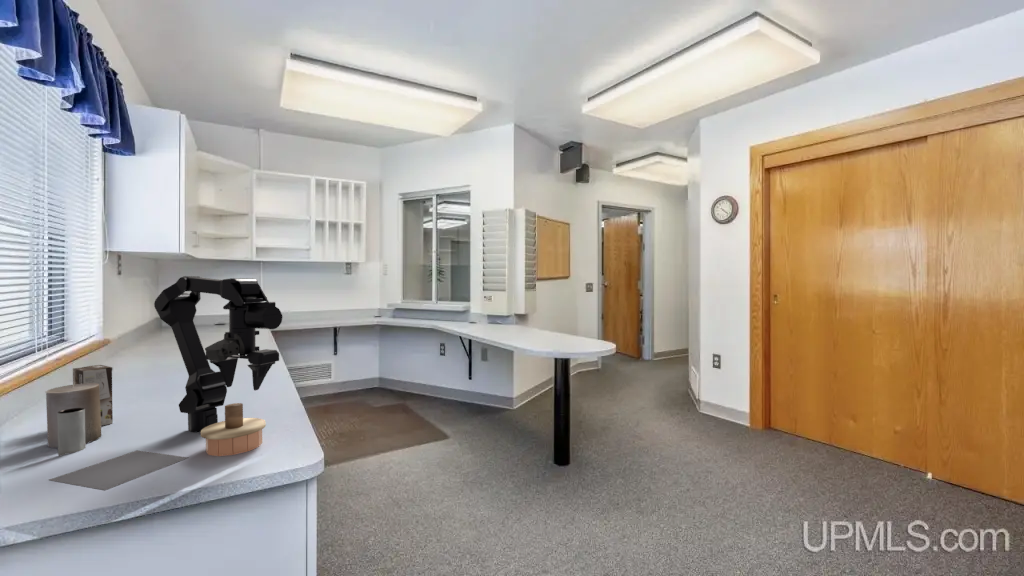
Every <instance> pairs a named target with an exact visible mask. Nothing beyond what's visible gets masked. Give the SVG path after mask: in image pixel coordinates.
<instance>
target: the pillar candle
mask: <svg viewBox="0 0 1024 576" xmlns="http://www.w3.org/2000/svg"><path fill="white" fill-rule="evenodd" d="M44 392H45V399H46V402H45V403H46V404H45V405H46V406H45V407H46V428H47V429H46V431H47V446H48V447H49V448H51V449H58V420H57V413H58V412H59V411H62V410H66V409H71V408H85V444H88V443H92V442H94V441H97V440H98V439H99V438H101V437H102V426H101V411H100V391H99V384H97V383H84V384H75V382H74V384H73V383H72V384H68V385H67V384H66V385H62V386H57V387H53V388H50V389H48V390H45V391H44Z"/></svg>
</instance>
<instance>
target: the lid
mask: <svg viewBox="0 0 1024 576" xmlns="http://www.w3.org/2000/svg"><path fill="white" fill-rule="evenodd" d="M243 406H244V404H243V403H242V402H235V403H230V404H226V405H224V420H223V421H219V422H218V423H215V424H212V425H209V426H207V427H205V428H203V429H202V430H201V432H200V437H201V438H202V439H205V440H206V439H229V438H236V437H241V436H245V435H249V434H252V433H255V432H258V431H260V430H262V431H263V429H264V428H266V426H267V423H266V420H265V419H264V418H259V417H244V407H243Z"/></svg>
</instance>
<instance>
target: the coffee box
mask: <svg viewBox="0 0 1024 576" xmlns="http://www.w3.org/2000/svg"><path fill="white" fill-rule="evenodd" d="M74 382H75V384H84V383H97V384H99V391H100V411H101V427H102V426H107V425H112V424H113V420H114V419H113V367H111V366H108V365H103V364H96V365H87V366H83V367H76V368H72V385H73V384H74Z"/></svg>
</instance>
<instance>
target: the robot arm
mask: <svg viewBox="0 0 1024 576" xmlns="http://www.w3.org/2000/svg"><path fill="white" fill-rule="evenodd" d="M187 292H190V293H187ZM201 293H203V294H209V295H210V294H212V295H218V296H220V297H221V299H224V300H227V301H228V302H227V303H226V304H225V305H223V307H222V309H223V310H228V311H229V313H228V315H229V316H228V317H229V319H228V320H229V322H228V324H229V325H228V326H229V327H228V328H229V329H228V331H225V332H224V335H223V339H221V340H218V341H216V342H214V343H212V344H210V345H208V346H206V347H205V348H204V346H203V344H202V341H201V339H200V335H199V333H198V330H197V328H196V324H195V321H194V319H195V317H196V313H197V307H196V306H197V304H199V302H200V301H201ZM153 305H154V309H155V310H156V312H157V315H158V317H159V319H160V320H161V321H163V322H164V323H165V324H166V325H168V326H169V327H170V328H171V329H172V330H171V331H172V333H173V336H174V337H175V341H176V345H177V347H178V349H179V352H180V355H181V358H182V361H183V363H184V366H185V369H186V372H187V375H188V378H187V381H186V384H185V387H184V388H185V392H186V394H185V396H184V397H183V398H182V399H181V401H180V402H179V404H178V408H179V412H180V413H183V414H187V432H190V433H201V430H202V429H203V428H205V427H207V426H209V425H212V424H215V423H218V408H217V407H221V406H225V405H224V403H225V400H226V397H227V393H228V388H231V387H232V386H233V382H234V379H235V375H236V369H237V365H238V362H239V359H244V360H247V361H248V362H249V364H247V366H248V368H249V369H250V370H251V371H252V372H251V373H252V387H253V391H258V390H260V387H261V386H262V384H263V382H264V381H265V380H264V379H266V378H265V377H266V376H267V375H268V372H269V371H270V369H271V368H272V366H273V365H275V364H276V362H280V352H279V351H278V350H277V349H268V348H267V349H260V346H257V345H256V336H259V335H260V329H261V330H275V329H278V327H280V326H281V324H282V322H283V314H282V312H281V310H280V309H279V307H277V306H276V301H269V299H268V297H267V296H266V294H265V293H264V291H263V289H262V287H261V285H260V284H259V281H258V280H257V279H256V278H250V277H246V278H241V277H240V278H234V277H233V278H225V279H218V278H217V279H216V278H211V277H210V278H207V277H200V276H198V275H197V276H196V275H195V276H193V275H190V276H189V275H185V276H182V277H179V278H178V279H177V281H175V283H173V284H171V285H170V286H168V287H166V288H164V289H163V290H162V291H161V292H160V294H159V295H158V296H157V297H156V298H155V301H154V303H153ZM256 329H259V330H256ZM210 363H211V364H213V365H214V366H216V367H217V368H218V370H219V371H215V370H213V368H211V366H210Z"/></svg>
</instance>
